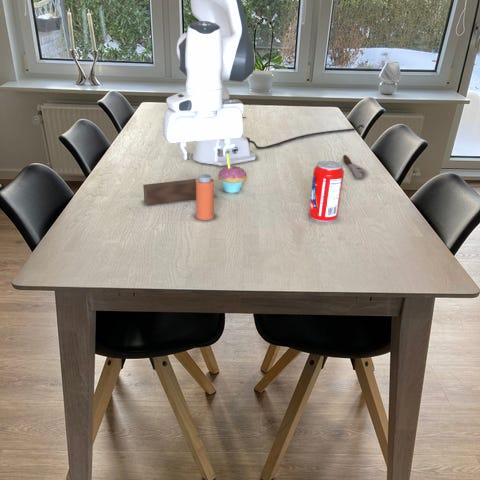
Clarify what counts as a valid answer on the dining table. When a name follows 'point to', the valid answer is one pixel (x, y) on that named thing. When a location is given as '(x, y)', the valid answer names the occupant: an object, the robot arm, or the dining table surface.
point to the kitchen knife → (354, 168)
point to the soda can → (326, 191)
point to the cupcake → (232, 177)
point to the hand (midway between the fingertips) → (204, 157)
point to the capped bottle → (204, 197)
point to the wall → (169, 191)
